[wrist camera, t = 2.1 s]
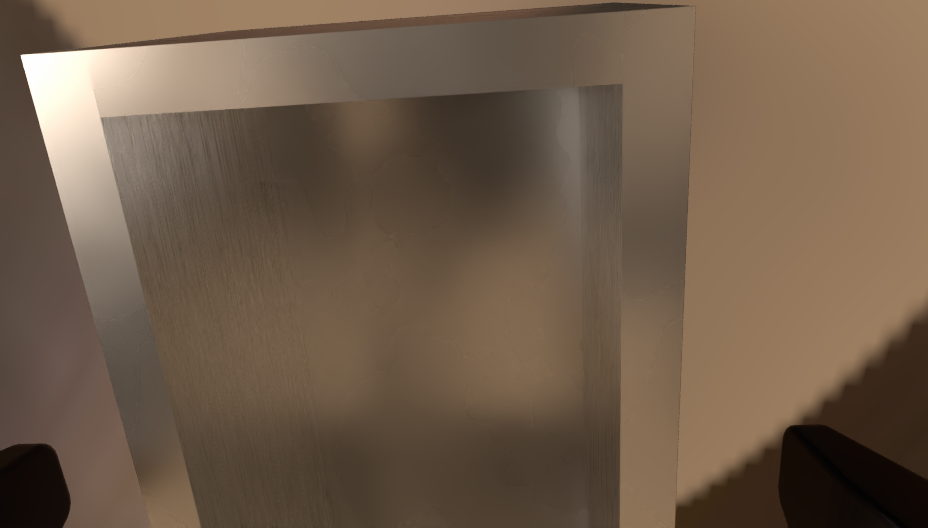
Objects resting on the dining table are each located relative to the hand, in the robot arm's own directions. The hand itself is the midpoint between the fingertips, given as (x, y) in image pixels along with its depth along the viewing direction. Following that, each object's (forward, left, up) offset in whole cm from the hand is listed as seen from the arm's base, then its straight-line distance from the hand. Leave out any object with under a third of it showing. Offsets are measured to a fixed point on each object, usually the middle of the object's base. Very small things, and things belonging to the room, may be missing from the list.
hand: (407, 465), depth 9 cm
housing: (0, 0, -4) cm, 4 cm away
